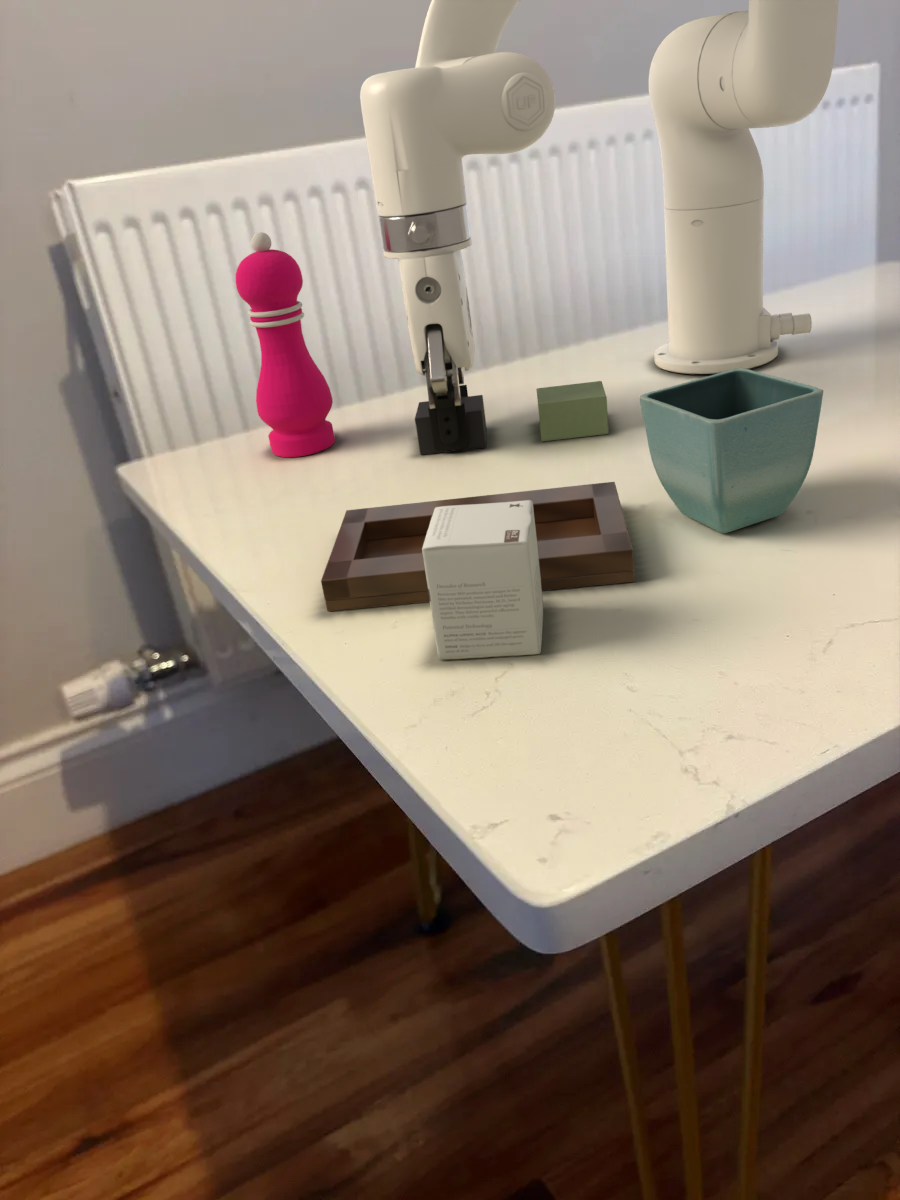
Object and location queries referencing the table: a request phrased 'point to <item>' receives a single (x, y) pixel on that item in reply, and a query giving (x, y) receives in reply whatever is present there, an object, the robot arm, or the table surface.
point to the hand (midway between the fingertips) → (453, 436)
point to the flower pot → (732, 444)
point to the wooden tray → (397, 533)
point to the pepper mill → (284, 354)
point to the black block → (474, 424)
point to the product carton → (484, 580)
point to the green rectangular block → (572, 411)
